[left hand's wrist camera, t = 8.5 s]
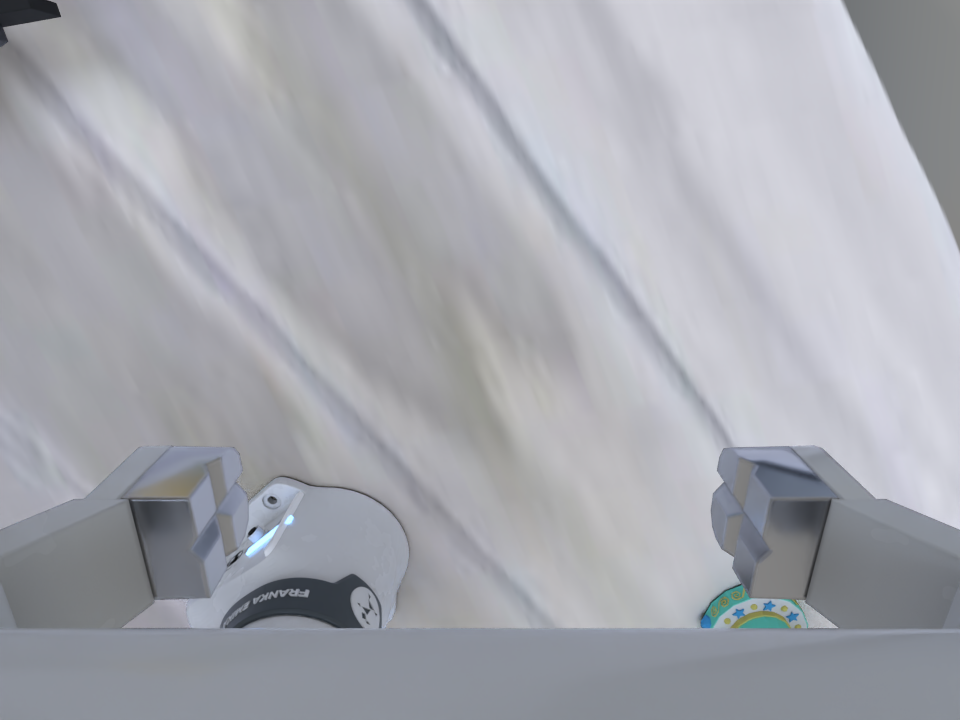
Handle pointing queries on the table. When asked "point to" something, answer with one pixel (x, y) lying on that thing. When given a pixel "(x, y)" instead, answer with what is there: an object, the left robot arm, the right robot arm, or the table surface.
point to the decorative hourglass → (752, 612)
